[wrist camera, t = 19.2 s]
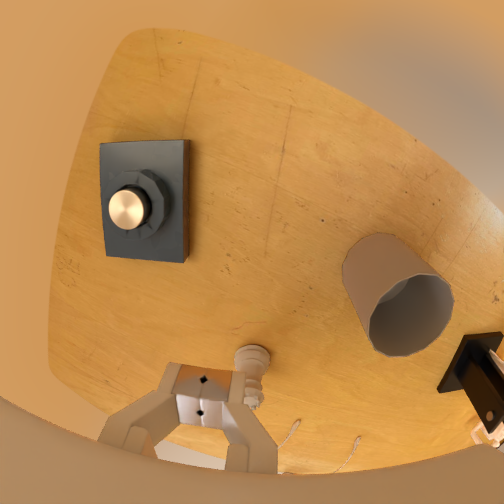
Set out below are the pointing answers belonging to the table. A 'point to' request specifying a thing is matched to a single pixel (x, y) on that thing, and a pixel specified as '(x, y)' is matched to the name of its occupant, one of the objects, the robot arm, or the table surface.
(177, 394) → the robot arm
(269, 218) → the table surface
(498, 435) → the chainsaw
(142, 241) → the button block
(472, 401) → the press bracket
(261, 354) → the rook chess piece
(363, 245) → the cup
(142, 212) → the gold dial knob
